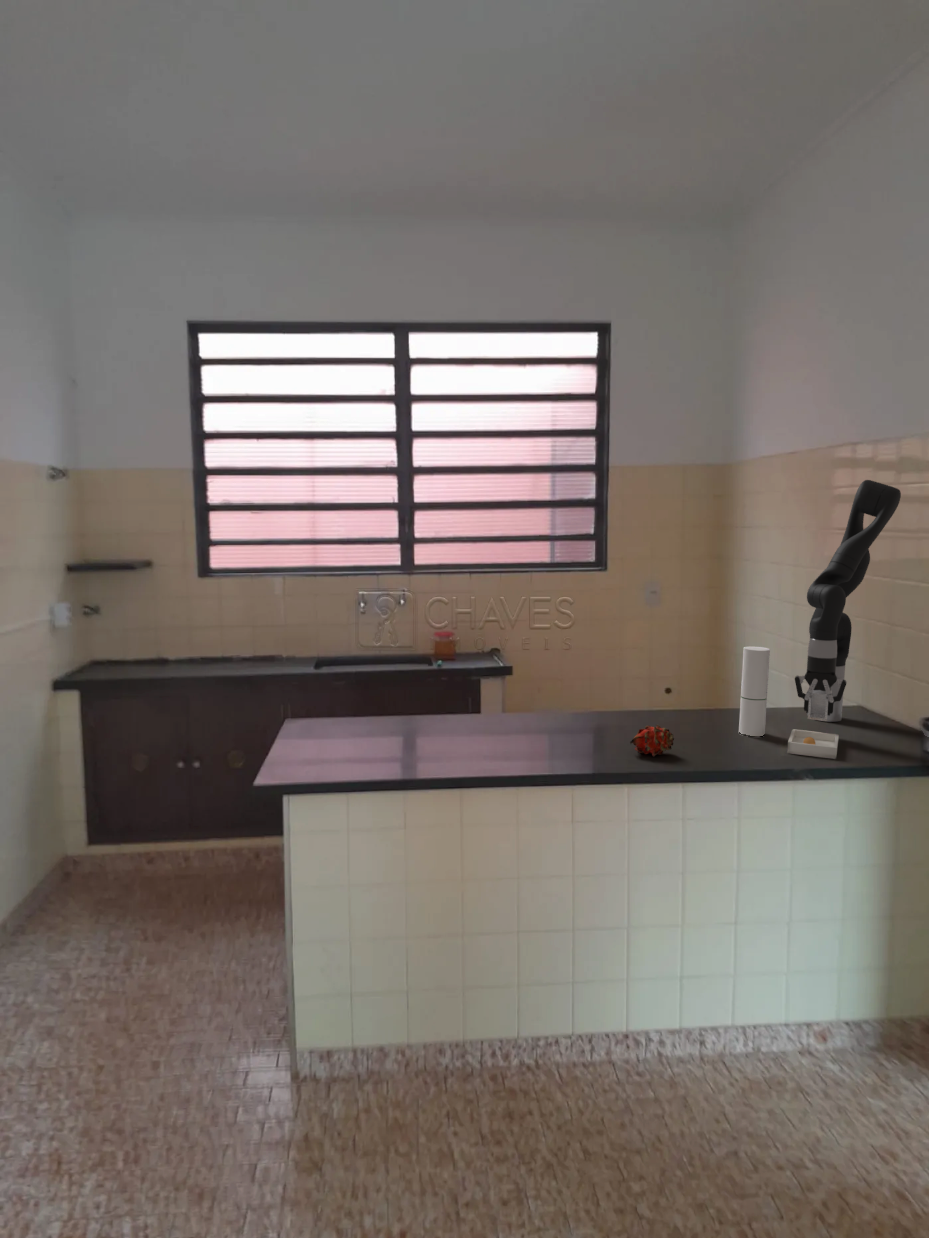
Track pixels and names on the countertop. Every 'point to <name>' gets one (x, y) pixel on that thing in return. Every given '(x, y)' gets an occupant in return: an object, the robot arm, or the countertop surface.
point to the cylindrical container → (754, 690)
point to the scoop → (818, 706)
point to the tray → (822, 748)
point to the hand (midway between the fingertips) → (818, 713)
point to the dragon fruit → (653, 740)
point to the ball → (809, 740)
